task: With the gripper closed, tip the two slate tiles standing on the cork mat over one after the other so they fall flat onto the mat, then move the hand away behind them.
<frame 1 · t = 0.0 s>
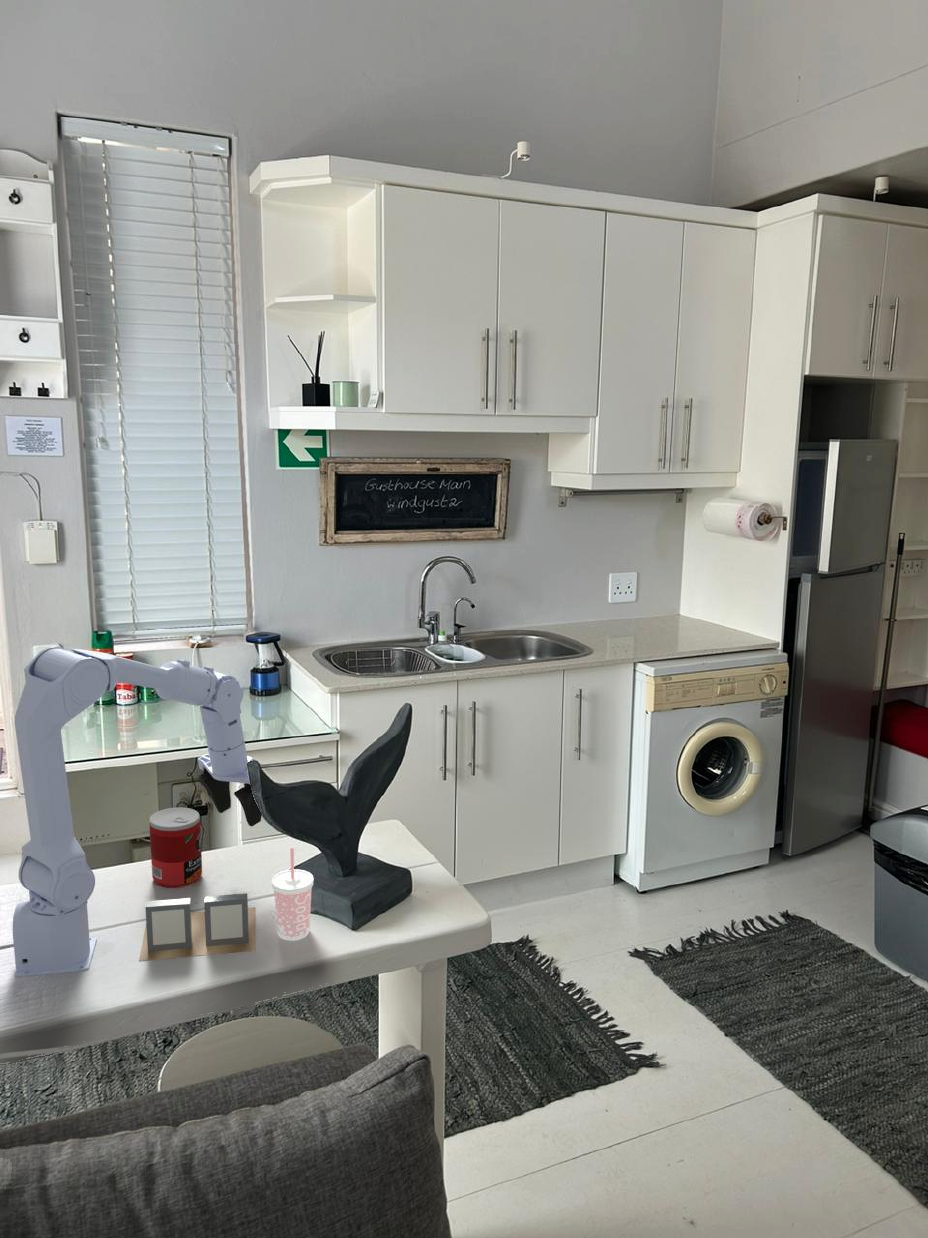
hand: (239, 816, 158), 11 cm above the table, tool pointing down, fingers open, 7 cm apart
canned food: (177, 879, 159), on the table
right slate tile: (227, 941, 140), resting on cork mat
cork mat: (200, 935, 143), on the table
left slate tile: (170, 946, 139), resting on cork mat
beverage cup: (293, 935, 144), on the table
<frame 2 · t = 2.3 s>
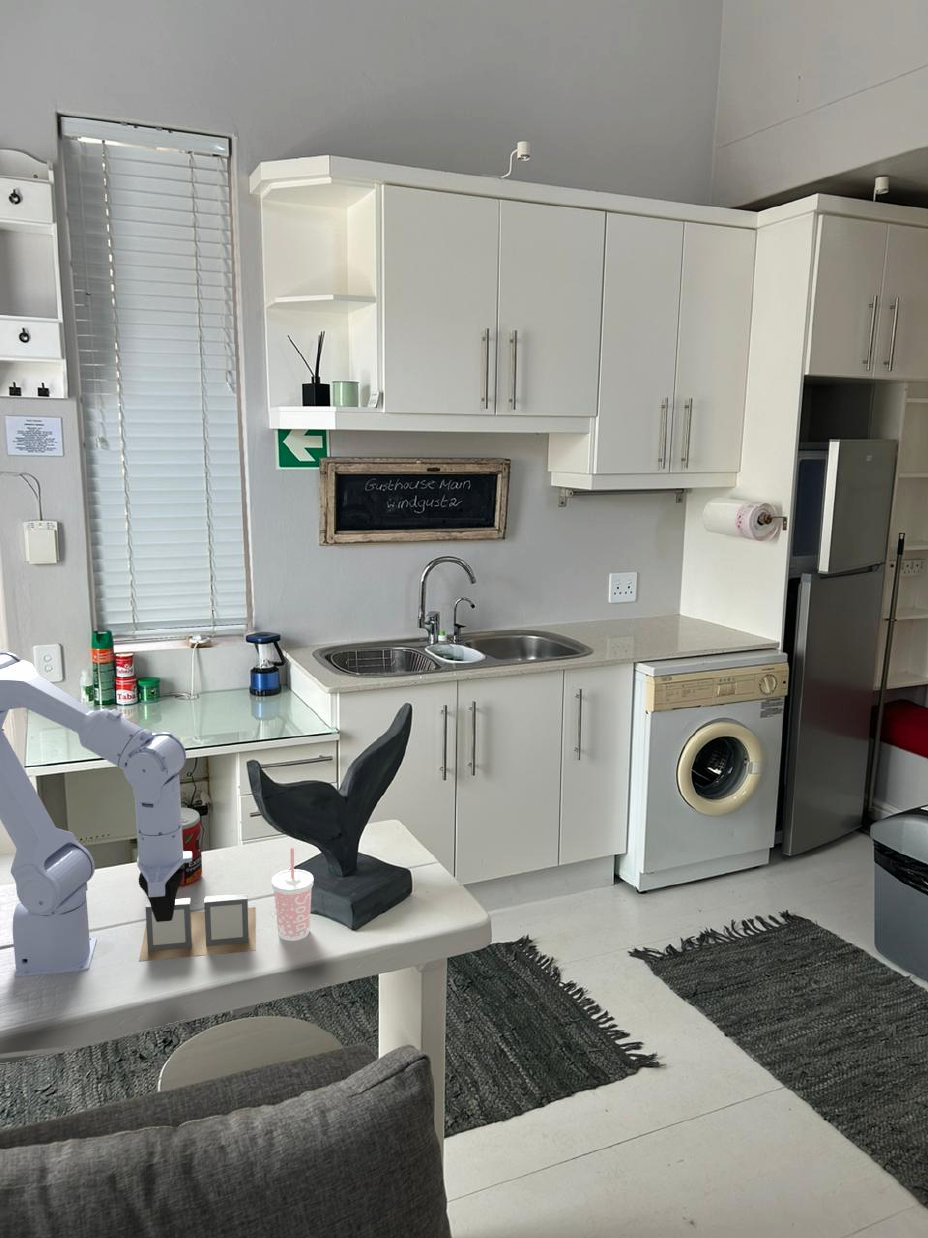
hand: (164, 918, 131), 8 cm above the table, tool pointing down, fingers closed
nothing on the table moved.
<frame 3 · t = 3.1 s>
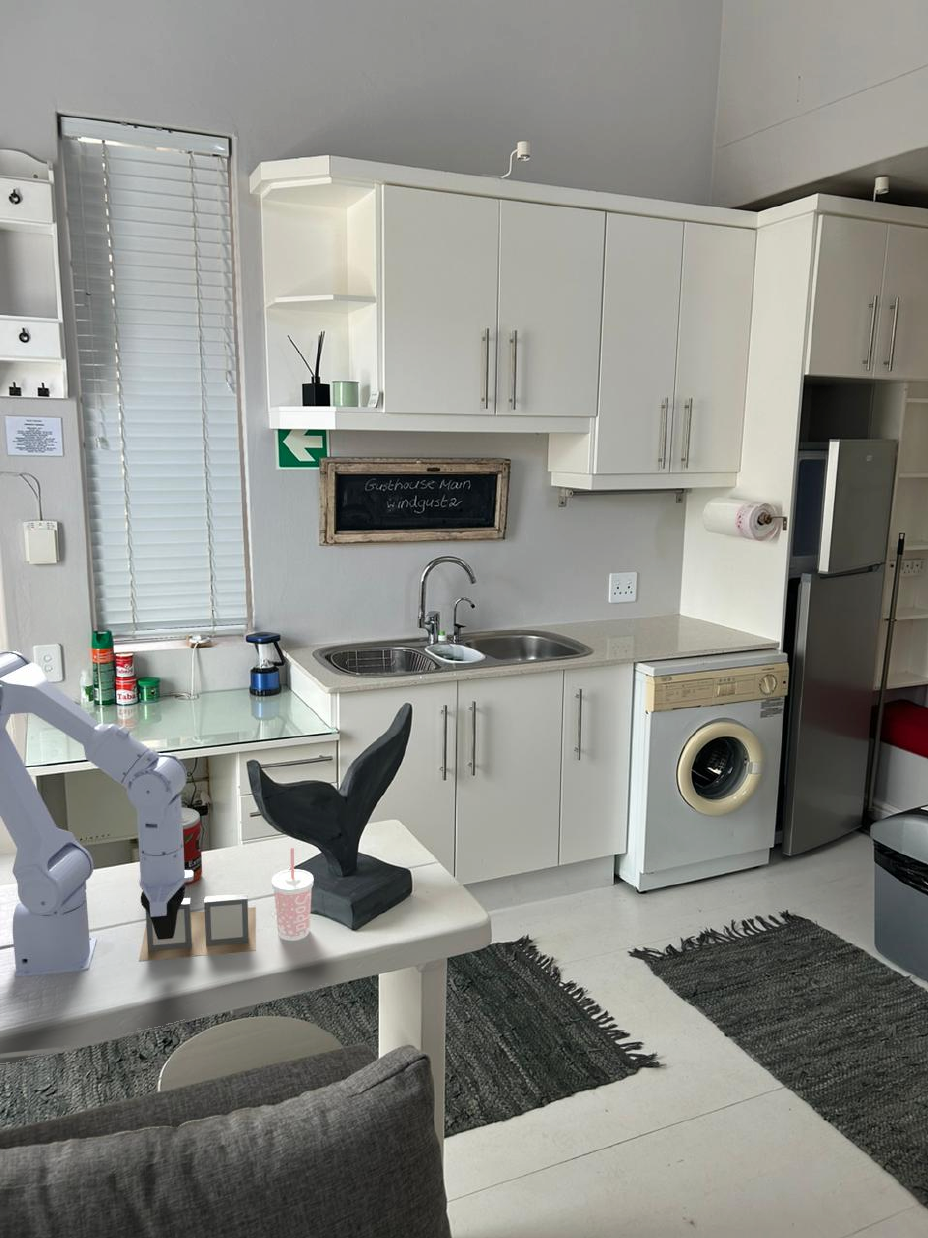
hand: (165, 936, 133), 5 cm above the table, tool pointing down, fingers closed
nothing on the table moved.
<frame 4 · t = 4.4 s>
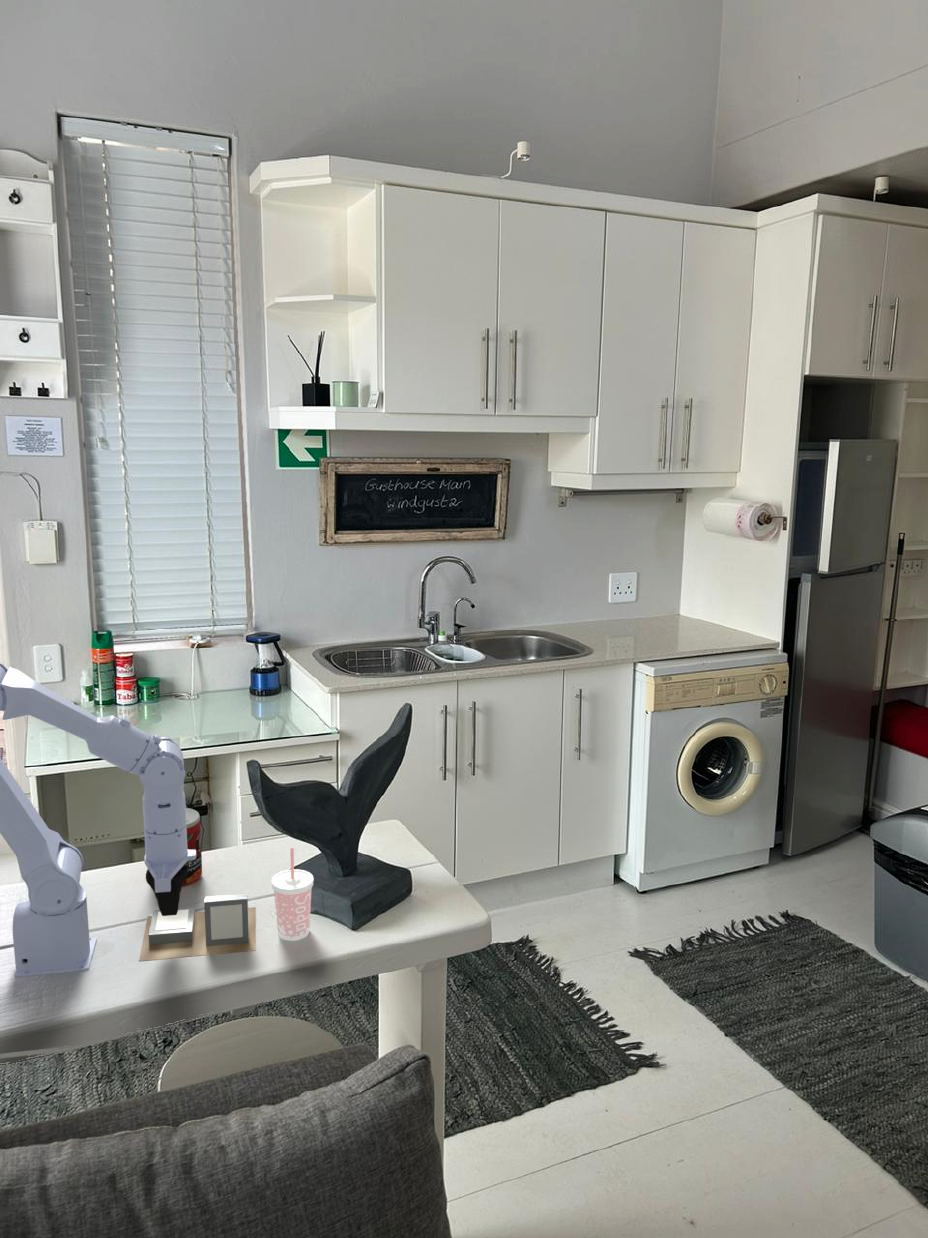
hand: (169, 913, 139), 5 cm above the table, tool pointing down, fingers closed
left slate tile: (170, 938, 139), point 1 cm above the table, tilted 90°, touching cork mat
everything else where it was.
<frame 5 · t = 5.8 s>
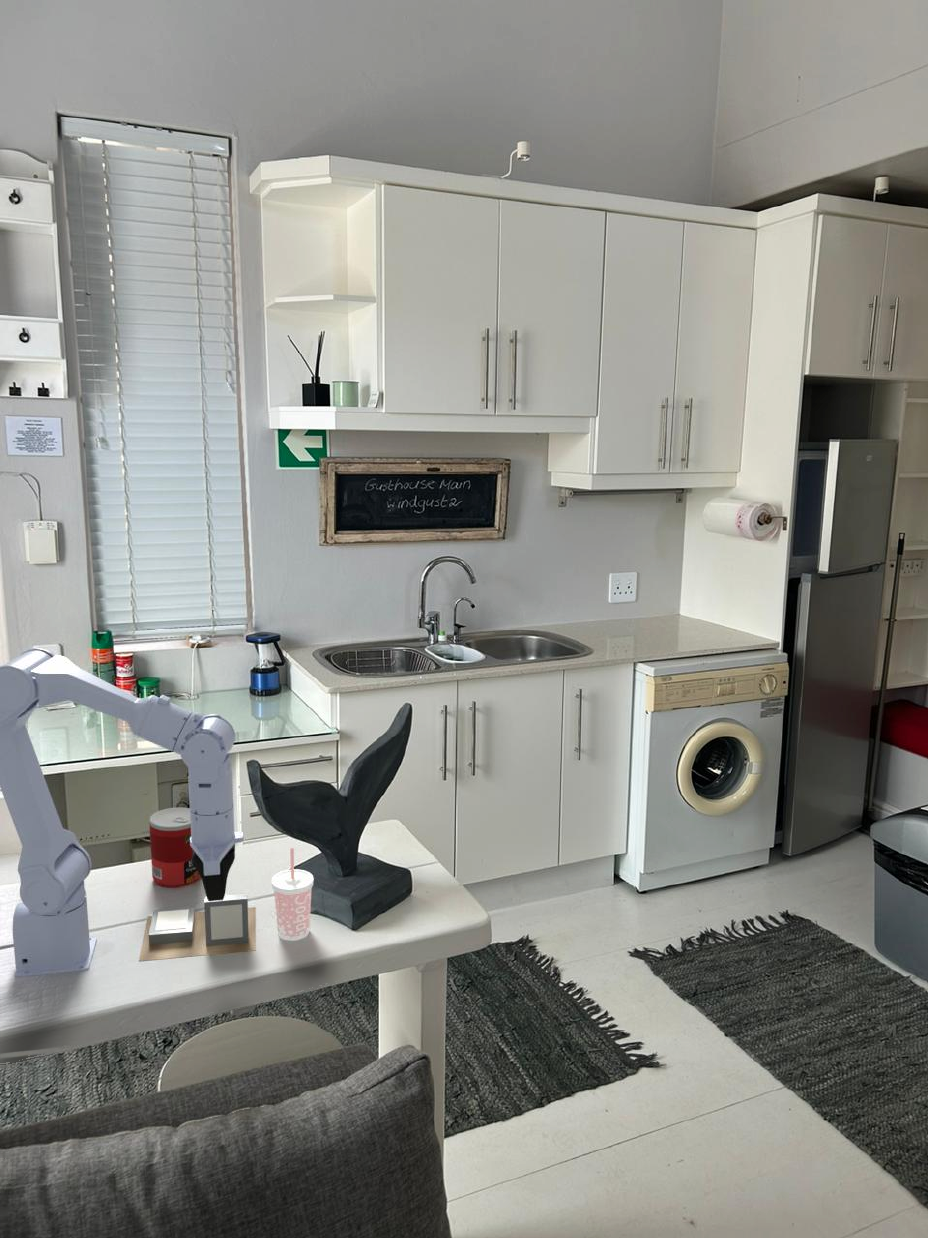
hand: (215, 898, 133), 10 cm above the table, tool pointing down, fingers closed
nothing on the table moved.
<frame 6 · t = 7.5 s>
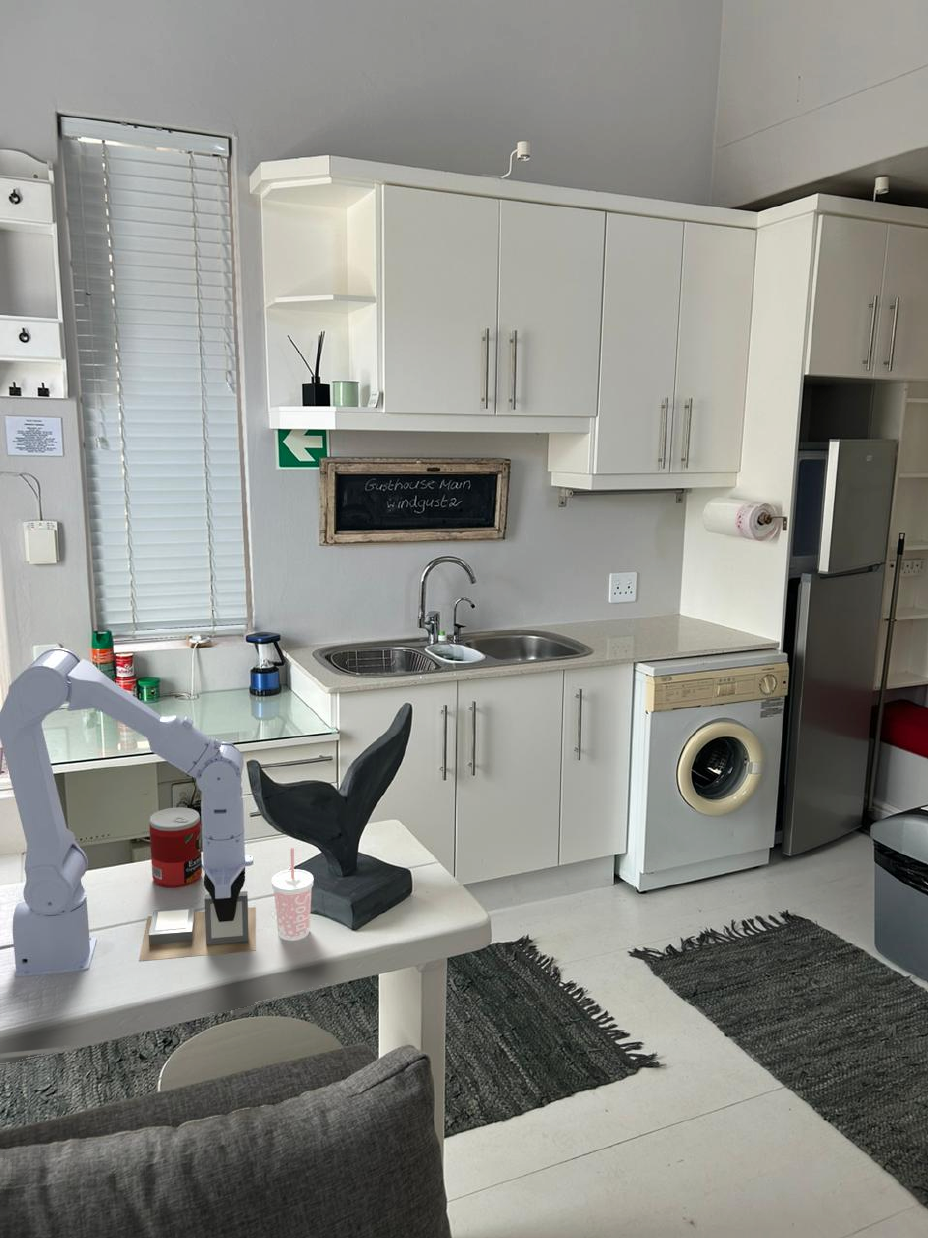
hand: (226, 919, 138), 5 cm above the table, tool pointing down, fingers closed
right slate tile: (227, 941, 140), resting on cork mat, tilted 6°
everything else where it was.
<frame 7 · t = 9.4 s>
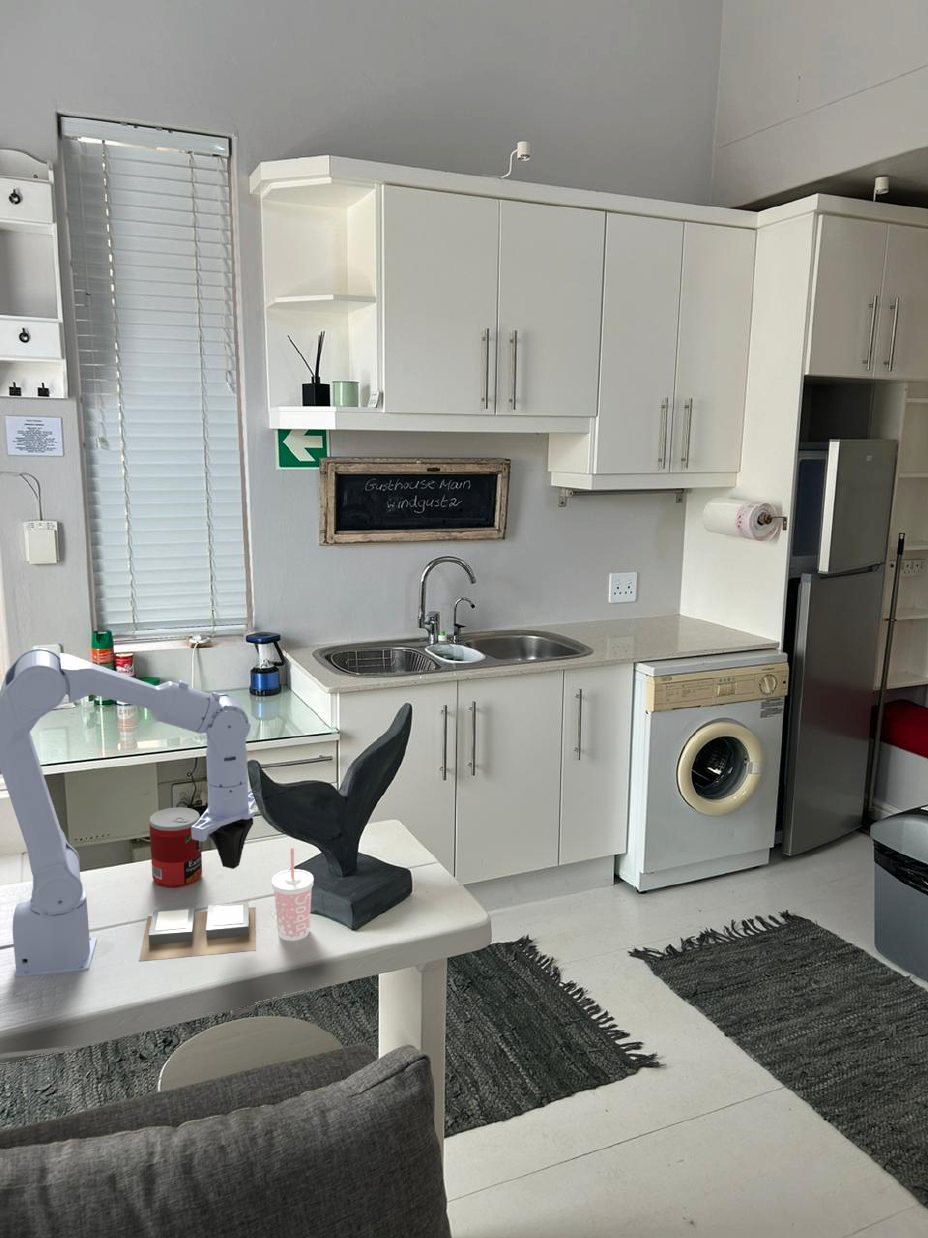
hand: (230, 865, 143), 10 cm above the table, tool pointing down, fingers closed
right slate tile: (227, 933, 141), point 1 cm above the table, tilted 90°, touching cork mat
everything else where it was.
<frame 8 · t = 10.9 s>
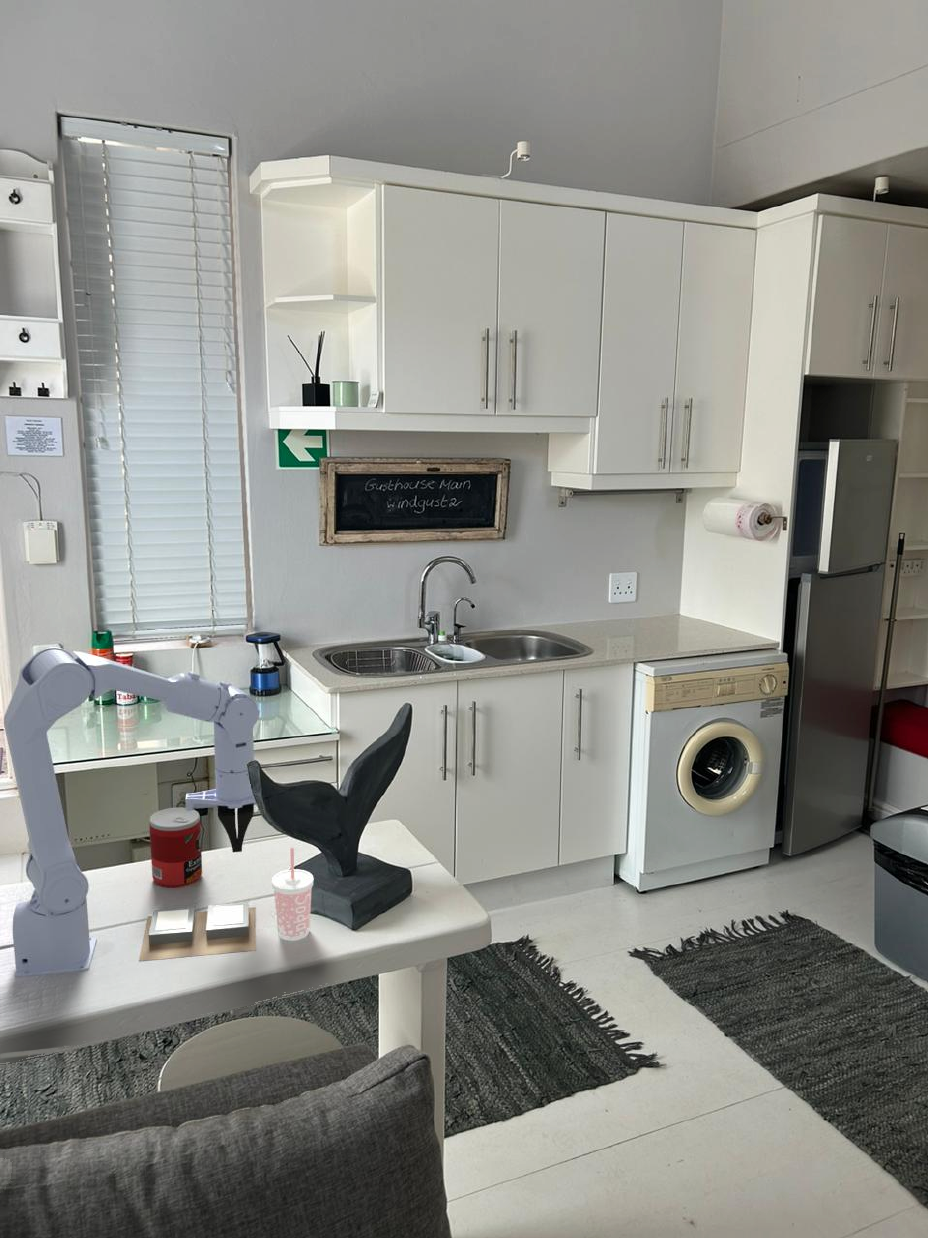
hand: (237, 849, 148), 10 cm above the table, tool pointing down, fingers closed
nothing on the table moved.
at the end: left slate tile tilted 90°; right slate tile tilted 90°; left slate tile inside the target area (4.9 cm from its centre), point 1.2 cm above the table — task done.
